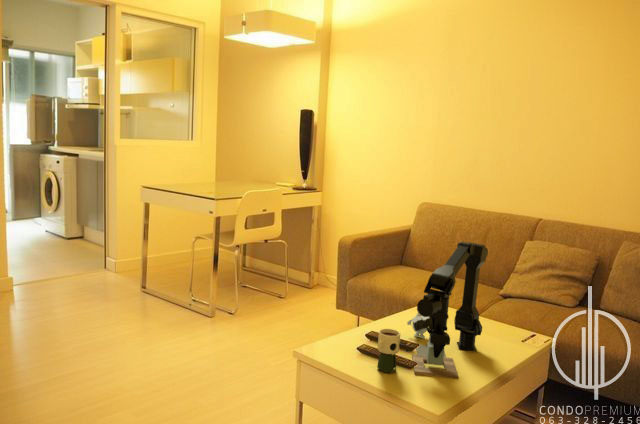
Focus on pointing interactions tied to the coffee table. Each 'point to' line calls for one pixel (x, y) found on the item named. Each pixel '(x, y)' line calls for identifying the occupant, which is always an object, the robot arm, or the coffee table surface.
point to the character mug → (388, 349)
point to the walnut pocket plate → (448, 372)
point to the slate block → (430, 355)
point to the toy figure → (419, 330)
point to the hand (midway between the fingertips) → (435, 354)
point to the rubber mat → (423, 350)
